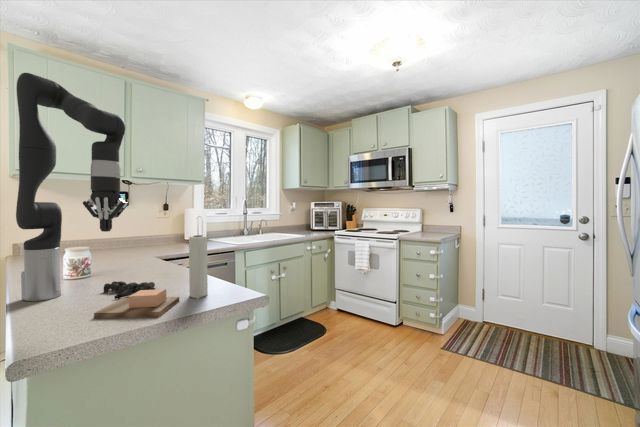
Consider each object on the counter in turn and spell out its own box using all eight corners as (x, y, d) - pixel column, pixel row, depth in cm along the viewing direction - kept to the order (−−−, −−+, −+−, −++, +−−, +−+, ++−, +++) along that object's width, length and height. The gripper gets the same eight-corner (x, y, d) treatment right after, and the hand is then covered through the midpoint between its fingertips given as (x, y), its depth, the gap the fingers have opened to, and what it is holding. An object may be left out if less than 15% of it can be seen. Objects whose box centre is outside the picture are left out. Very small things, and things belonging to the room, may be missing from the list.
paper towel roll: (196, 292, 110) (195, 234, 110) (211, 293, 109) (210, 235, 108) (183, 298, 103) (182, 236, 103) (199, 299, 102) (198, 237, 101)
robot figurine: (86, 300, 104) (135, 302, 100) (85, 288, 104) (134, 289, 100) (129, 286, 122) (171, 288, 117) (128, 276, 122) (171, 276, 117)
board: (94, 318, 85) (93, 313, 85) (123, 302, 99) (123, 297, 99) (159, 316, 86) (159, 311, 86) (179, 301, 100) (179, 296, 100)
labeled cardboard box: (128, 296, 89) (156, 295, 89) (140, 290, 95) (166, 289, 96) (129, 308, 89) (156, 307, 89) (140, 301, 95) (166, 300, 96)
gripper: (74, 174, 89) (75, 232, 90) (120, 175, 90) (120, 232, 90) (92, 176, 97) (92, 230, 97) (134, 177, 97) (134, 230, 98)
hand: (106, 231), depth 94 cm, fingers closed
